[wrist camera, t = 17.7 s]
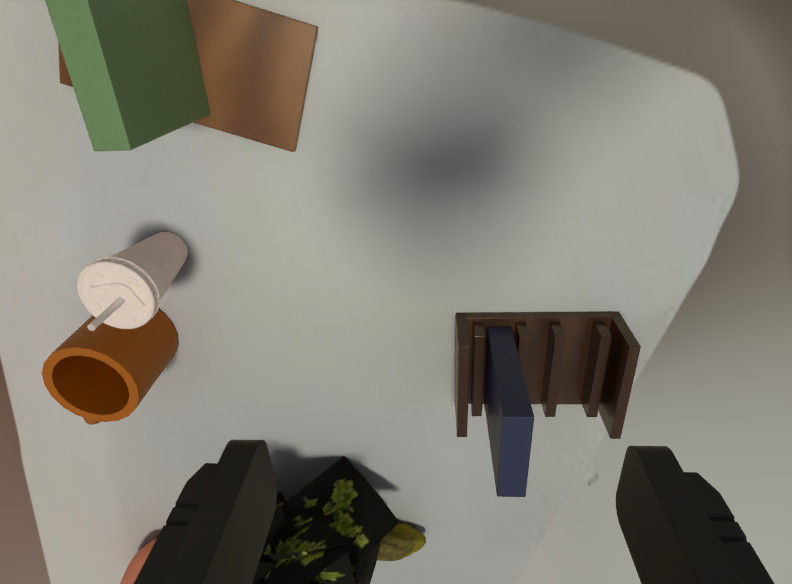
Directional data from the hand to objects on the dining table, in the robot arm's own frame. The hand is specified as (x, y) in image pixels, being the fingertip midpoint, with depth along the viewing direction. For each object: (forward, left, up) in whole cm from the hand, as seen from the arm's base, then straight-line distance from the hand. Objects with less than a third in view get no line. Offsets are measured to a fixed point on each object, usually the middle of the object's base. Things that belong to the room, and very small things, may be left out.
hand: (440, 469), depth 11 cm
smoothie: (+26, +10, -36) cm, 46 cm away
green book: (+20, -7, -36) cm, 41 cm away
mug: (+33, +21, -36) cm, 53 cm away
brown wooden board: (+20, -7, -36) cm, 42 cm away
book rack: (-10, +23, -36) cm, 44 cm away
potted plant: (+15, +46, -36) cm, 60 cm away
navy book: (-6, +23, -35) cm, 42 cm away
